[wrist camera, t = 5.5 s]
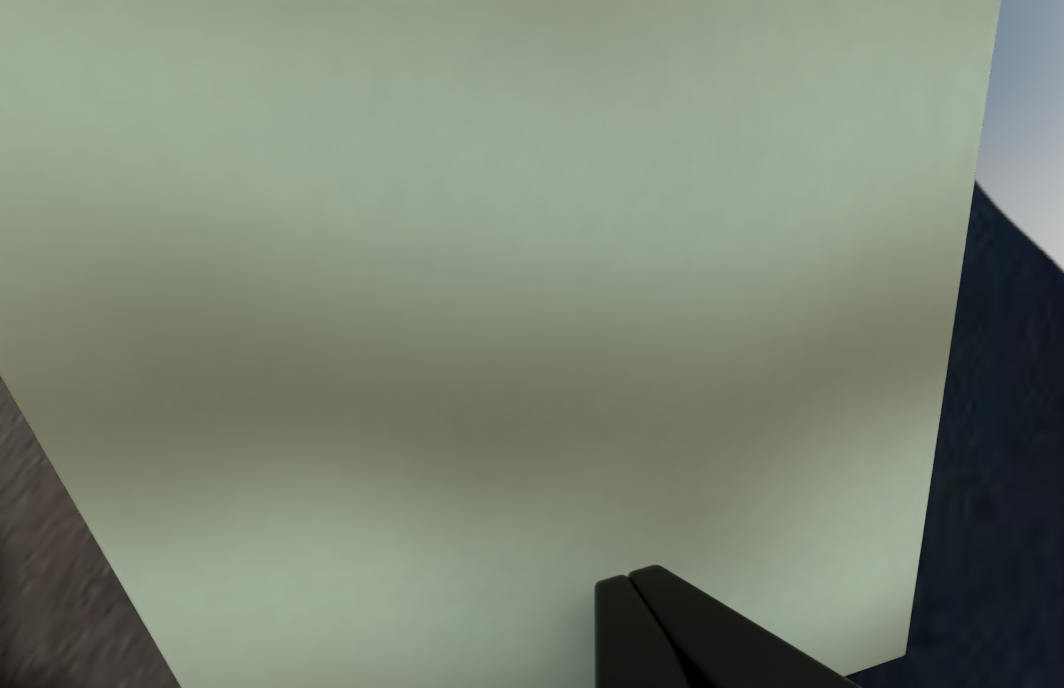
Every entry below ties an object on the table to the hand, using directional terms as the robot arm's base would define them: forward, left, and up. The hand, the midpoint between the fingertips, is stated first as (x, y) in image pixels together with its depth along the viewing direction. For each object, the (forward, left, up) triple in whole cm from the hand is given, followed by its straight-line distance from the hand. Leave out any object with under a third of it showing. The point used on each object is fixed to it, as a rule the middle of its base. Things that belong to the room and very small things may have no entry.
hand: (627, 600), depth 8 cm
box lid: (+1, +3, 0) cm, 3 cm away
